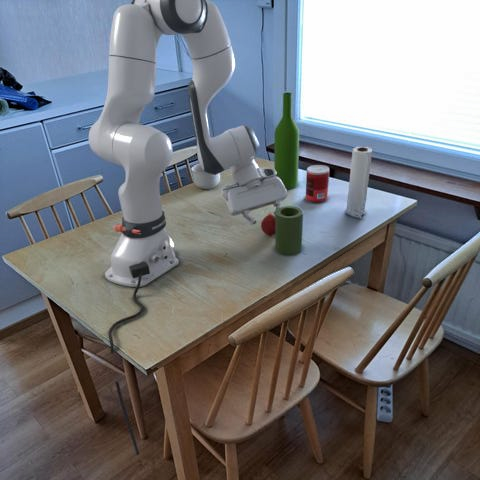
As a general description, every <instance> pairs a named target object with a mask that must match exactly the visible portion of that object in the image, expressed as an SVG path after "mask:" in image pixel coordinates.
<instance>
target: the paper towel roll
mask: <svg viewBox="0 0 480 480" xmlns="http://www.w3.org/2000/svg"><path fill="white" fill-rule="evenodd" d="M351 153H352V154H351V161H350V173H349V181H348V182H349V183H348V192H347V202H346V210H345V211H346V214H347V215H349V216H351V217H353V218H358V219H361V220H362V216H363V215H365V210H366V204H367V195H368V189H369V188H368V187H369V180H370V171H371V165H372V157H373V148H371V147H368V146H356V147H353V148H352V152H351Z"/></svg>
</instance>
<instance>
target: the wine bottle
mask: <svg viewBox="0 0 480 480" xmlns="http://www.w3.org/2000/svg"><path fill="white" fill-rule="evenodd" d="M282 96H283V97H282V116H281V119H280V120H279V122H278V124H277V126H276V127H275V130H274V135H273V136H274V138H273V139H274V141H273V142H274V144H273V145H274V146H273V147H274V151H273V152H274V157H273V159H274V161H273V162H274V167H273V169H275V170H276V173H277V174H276V177H278V178H280V180H281V181H282V183H283V185H284V187H285V189H286V190H293V189H296V188H297V187H298V185H299V156H300V155H299V153H300V131H299V126H298V125H297V123H296V122H295V121H294V118H293V116H292V115H293V113H292V112H293V111H292V110H293V109H292V107H293V106H292V105H293V104H292V103H293V102H292V101H293V99H292V97H293V93H292V92H284V93H282Z"/></svg>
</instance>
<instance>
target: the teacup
mask: <svg viewBox="0 0 480 480" xmlns="http://www.w3.org/2000/svg"><path fill="white" fill-rule="evenodd" d="M190 170H191V174H192V175H191V176H192V179H193V183H194V185H195V186H196V187H198V188H200V189H201V190H211V189H214V188H215V187H217V186H218V184H219V183H220V181H221V172H220V173H218V174H217V175H213V174H209V173H207V172H205V171H203V169H202V168H201V166H200V164H199V162H198V163H196V164H194V165H193V166H191V167H190Z"/></svg>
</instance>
